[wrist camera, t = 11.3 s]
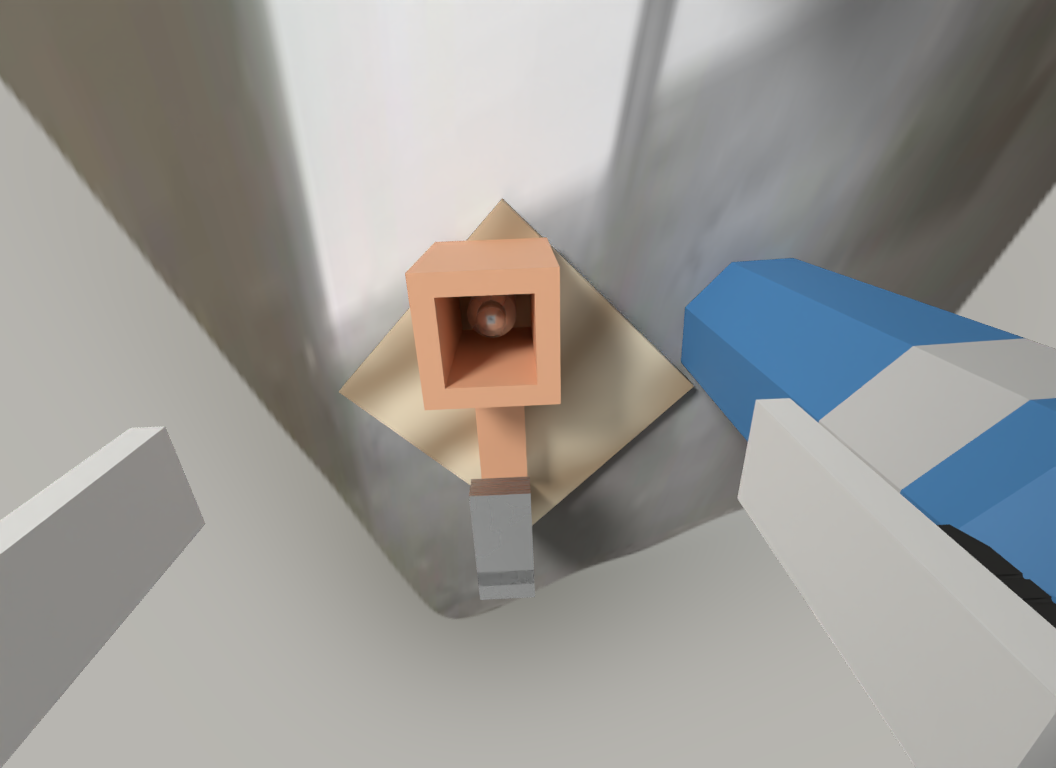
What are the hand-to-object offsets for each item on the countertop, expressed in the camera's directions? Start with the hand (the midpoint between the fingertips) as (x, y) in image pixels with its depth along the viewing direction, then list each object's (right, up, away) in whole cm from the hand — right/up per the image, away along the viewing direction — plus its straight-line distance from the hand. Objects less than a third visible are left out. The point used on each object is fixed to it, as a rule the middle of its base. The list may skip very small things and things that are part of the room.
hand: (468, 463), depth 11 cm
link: (0, +3, +18) cm, 18 cm away
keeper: (0, -2, +22) cm, 22 cm away
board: (+1, +2, +20) cm, 20 cm away
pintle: (0, +7, +16) cm, 18 cm away
